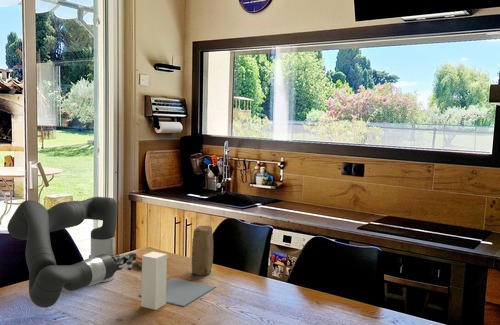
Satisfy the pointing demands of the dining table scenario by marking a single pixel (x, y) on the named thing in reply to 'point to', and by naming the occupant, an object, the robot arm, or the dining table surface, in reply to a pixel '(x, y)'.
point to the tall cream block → (154, 280)
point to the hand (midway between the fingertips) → (134, 256)
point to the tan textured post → (202, 250)
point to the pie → (139, 256)
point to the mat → (184, 291)
